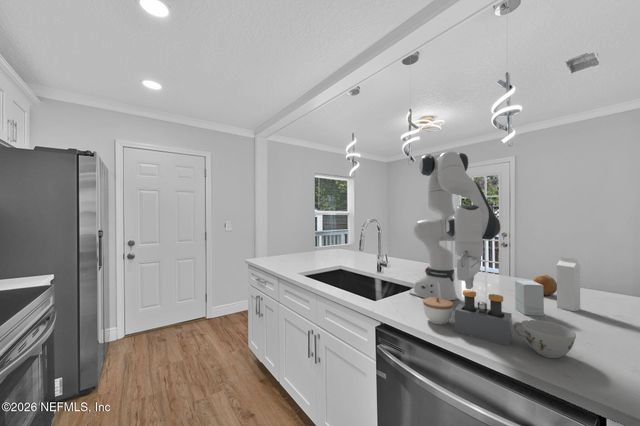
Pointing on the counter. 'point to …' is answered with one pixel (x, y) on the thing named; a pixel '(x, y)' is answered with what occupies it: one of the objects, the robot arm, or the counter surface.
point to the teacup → (547, 337)
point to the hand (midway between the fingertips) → (469, 288)
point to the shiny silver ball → (482, 307)
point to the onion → (547, 284)
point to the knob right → (496, 305)
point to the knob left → (469, 300)
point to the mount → (484, 325)
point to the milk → (568, 284)
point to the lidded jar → (438, 310)
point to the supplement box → (529, 298)
